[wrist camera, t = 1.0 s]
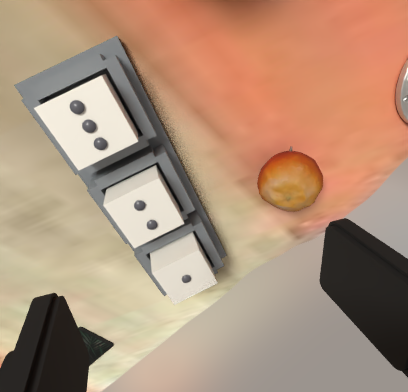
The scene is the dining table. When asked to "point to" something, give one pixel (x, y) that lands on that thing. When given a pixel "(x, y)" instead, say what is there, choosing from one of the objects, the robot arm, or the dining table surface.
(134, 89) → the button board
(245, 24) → the dining table surface
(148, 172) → the two dot tile
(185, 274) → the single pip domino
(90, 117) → the three dot tile
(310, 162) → the fruit
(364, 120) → the dining table surface
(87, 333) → the smartphone
